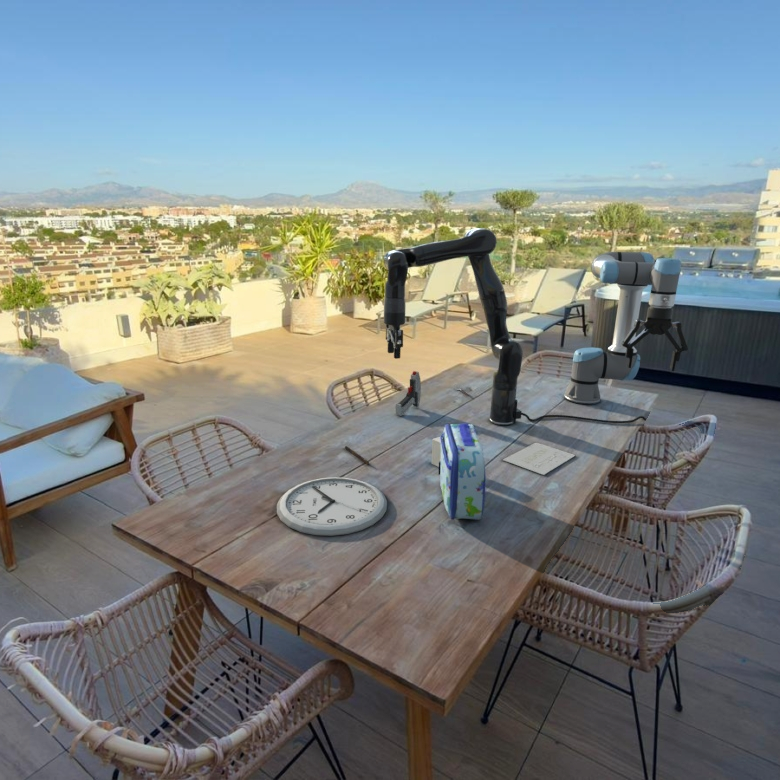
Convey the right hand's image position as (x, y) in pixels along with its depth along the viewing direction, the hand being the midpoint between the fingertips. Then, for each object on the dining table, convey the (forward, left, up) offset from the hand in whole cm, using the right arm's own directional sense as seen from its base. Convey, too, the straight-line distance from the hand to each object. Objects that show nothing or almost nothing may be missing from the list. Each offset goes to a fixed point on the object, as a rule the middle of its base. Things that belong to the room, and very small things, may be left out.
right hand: (650, 368), depth 179 cm
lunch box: (+58, -58, -28) cm, 87 cm away
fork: (-44, -67, -28) cm, 85 cm away
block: (+35, -66, -28) cm, 80 cm away
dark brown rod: (+37, -94, -28) cm, 105 cm away
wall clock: (+69, -91, -28) cm, 118 cm away
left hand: (+11, -88, +1) cm, 88 cm away
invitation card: (+22, -35, -28) cm, 50 cm away
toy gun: (-12, -86, -28) cm, 91 cm away
